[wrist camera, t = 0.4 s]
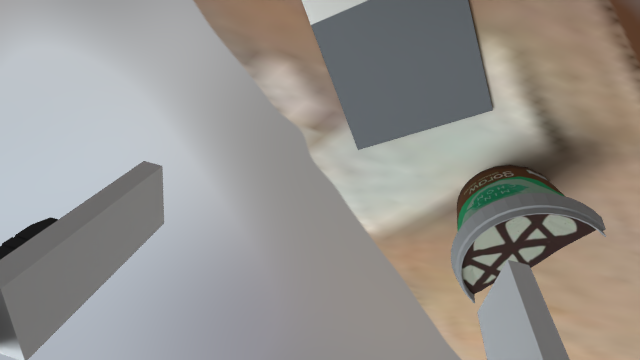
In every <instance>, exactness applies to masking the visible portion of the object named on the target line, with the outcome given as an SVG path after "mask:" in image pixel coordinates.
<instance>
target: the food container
mask: <svg viewBox="0 0 640 360" xmlns="http://www.w3.org/2000/svg"><path fill="white" fill-rule="evenodd" d="M457 226H458V232H457V234H456V237H455V239H454V241H453V245H452V249H451V263H452V268H453V271H454V273H455V276H456V278H457V280H458V282H459V284H460V286H461V288H462V289H463V291H464V292H465V294H466V295H467V296H468V297H469V298H470V299H471V301H472V302H473V303H475V298H474V294H475V293H477V292H480V291H482V290H483V289H484V288H486V287H488V286H489V285H491V284H493V283H494V282H495V281H496V279H497V277H498V275H499V274H500V272H501V270H502V268H503V266H504V265H505V263H506V261H507V259H508V260H511V261H515V262H519V263H522V264H526V265H529V266H530V268H531V267H533V266H534V265H536V264H538V263H539V262H541V261H542V260H544V259H545V258H547V257H548V256H550V255H551V254H553V253H554V252H556V251H558V250H559V249H561V248H563V247H564V246H566V245H568V244H570V243H572V242H574V241H576V240H578V239H580V238H582V237H584V236H585V235H587V234H589V233H591V232H593V231H595V230H596V229H597V230H598V231H599V232H600V233H601V234H603V235H604V236H605V237H606V235H605V234H604V232H603V230H605V226H604V223H603V220H602V218H601V217H600V216H599V215H598V214H597V213H596V212H595V211H594V210H592V209H591V208H589V207H588V206H586V205H585V204H583V203H581V202H578V201H576V200H574V199H572V198H568V197H565V196H564V195H563V194H562V193H561V192H560V191H559V190H558V189H557V188H556V187H555V186H554V185H552V184H551V183H550V182H549V181H548V180H547V179H546V178H545V177H544V176H543V175H541V174H540V173H537V172H535V171H533V170H531V169H529V168H527V167H520V166H513V165H507V166H499V167H493V168H490V169H487V170H485V171H482V172H480V173H479V174H477V175H475V176H474V177H473V178H472V179H470V180H469V181H468V182H467V183H466V185H465V186H464V187H463V189H462V190H461V192H460V195H459V197H458V202H457Z"/></svg>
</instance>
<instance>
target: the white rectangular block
mask: <svg viewBox="0 0 640 360" xmlns="http://www.w3.org/2000/svg"><path fill="white" fill-rule="evenodd" d="M366 1H368V0H302V2H303V5H304V8H305V10H306V13H307V16H308V18H309V21H310V24H311V25H312V24H314V23H317V22H319V21H322V20H324V19H326V18H329V17H331V16H333V15H336V14H338V13H340V12H343V11H345V10H347V9H349V8H352V7H354V6H356V5H359V4H361V3H363V2H366Z"/></svg>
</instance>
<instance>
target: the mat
mask: <svg viewBox="0 0 640 360" xmlns="http://www.w3.org/2000/svg"><path fill="white" fill-rule="evenodd" d="M302 3H303V2H302ZM311 26H312V29H313V32H314V34H315V37H316V40H317V42H318V45H319V48H320V50H321V53H322V55H323V58H324V61H325V63H326V66H327V69H328V71H329V74H330V77H331V79H332V82H333V85H334V87H335V90H336V92H337V95H338V98H339V100H340V103H341V106H342V108H343V111H344V114H345V116H346V119H347V122H348V124H349V127H350V130H351V132H352V135H353V137H354V140H355V143H356V145H357V148H358V150H359V149H363V148H366V147H369V146H373V145H376V144H380V143H383V142H386V141H390V140H393V139H397V138H400V137H403V136H407V135H410V134H414V133H417V132H420V131H424V130H427V129H431V128H434V127H437V126H441V125H444V124H448V123H451V122H454V121H458V120H461V119H465V118H468V117H471V116H475V115H478V114H482V113H485V112H488V111H492V110H493V109H492V105H491V100H490V96H489V91H488V87H487V82H486V78H485V74H484V69H483V65H482V60H481V56H480V51H479V47H478V43H477V38H476V34H475V29H474V25H473V20H472V16H471V11H470V7H469V3H468V0H368V1H366V2H363V3H361V4H359V5H356V6H354V7H352V8H349V9H347V10H345V11H343V12H340V13H338V14H336V15H333V16H331V17H329V18H326V19H324V20H322V21H319V22H317V23H314V24H312V25H311Z"/></svg>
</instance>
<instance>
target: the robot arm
mask: <svg viewBox="0 0 640 360" xmlns="http://www.w3.org/2000/svg"><path fill="white" fill-rule="evenodd" d="M162 175H163V173H162V166H160V165H157V164H153V163H149V162H146V161H143V162H142V163H140V164H139V165H138V166H136V167H134V168H133V169H132V170H130V171H129V172H127V173H126V174H125V175H123V176H121V177H120V178H119V179H117V180H116V181H114V182H113V183H111V184H110V185H108V186H107V187H105V188H104V189H102V190H101V191H100V192H98V193H97V194H95V195H94V196H92V197H91V198H89V199H88V200H86V201H85V202H84V203H82V204H81V205H79V206H78V207H77V208H75V209H73V210H72V211H70V212H69V213H68V214H66V215H65V216H63V217H62V218H60V219H59V220H58V219H55V218H48V219H45V220H43V221H40V222H37V223H35V224H32V225H30V226H29V227H27V228H25V229H24V230H22V231H21V232H19V233H18V234H16V235H15V237H14V238H13V237H12V238H10V239H9V240H7V241H6V242H4V243H2V246H0V354H3V355H6V356H9V357H12V358H15V359H18V360H28V359H29V358H30V357H31V356H32V355H33V354H34V353H35V352H36V351H37V350H38V349H39V348H40V346H42V345H43V344H44V343H45V342H46V341H47V340H48V339H49V338H50V337H51V336H52V335H53V334H54V333H55V332H56V331H57V330H58V329H59V328H60V327H61V326H62V325H63V324H64V323H65V322H66V321H67V320H68V319H69V318H70V317H71V316H72V315H73V314H74V313H75V312H76V311H77V310H78V309H79V308H80V307H81V306H82V305H83V304H84V303H85V302H86V301H87V300H88V299H89V298H90V297H91V296H92V295H93V294H94V293H95V292H96V291H97V290H98V289H99V288H100V287H101V286H102V285H103V284H104V283H105V282H106V281H107V280H108V279H109V278H110V277H111V276H112V275H113V274H114V273H115V272H116V271H117V270H118V269H119V268H120V267H121V266H122V265H123V264H124V263H125V262H126V261H127V260H128V259H129V258H130V257H131V256H132V255H133V254H134V253H135V252H136V251H137V250H138V249H139V248H140V247H141V246H142V245H143V244H144V243H145V242H146V241H147V240H148V239H149V238H150V237H151V236H152V235H153V234H154V233H155V232H156V231H157V230H158V229H159V228H160V227H161V226H162V225H163V224H164V210H163V209H164V206H163V176H162ZM477 313H478V318H479V323H480V328H481V332H482V337H483V342H484V347H485V351H486V356H487V360H570V359H569V357H568V355H567V352H566V350H565V348H564V345H563V343H562V341H561V338H560V336H559V334H558V331H557V329H556V327H555V324H554V322H553V319H552V317H551V315H550V312H549V310H548V308H547V305H546V303H545V301H544V298H543V296H542V294H541V291H540V289H539V287H538V284H537V282H536V280H535V277H534V275H533V273H532V270H531V268H530V266H529V265H526V264H522V263H519V262H515V261H511V260H508V259H507V261H506V263H505V265H504V266H503V268H502V270H501V272H500V274H499V275H498V277H497V279H496V281H495V282H494V284H493V286H492V288H491V289H490V291H489V293H488V295H487V296H486V298H485V300H484V302H483V304H482V305H481V307H480V309H479V311H478V312H477Z"/></svg>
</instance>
